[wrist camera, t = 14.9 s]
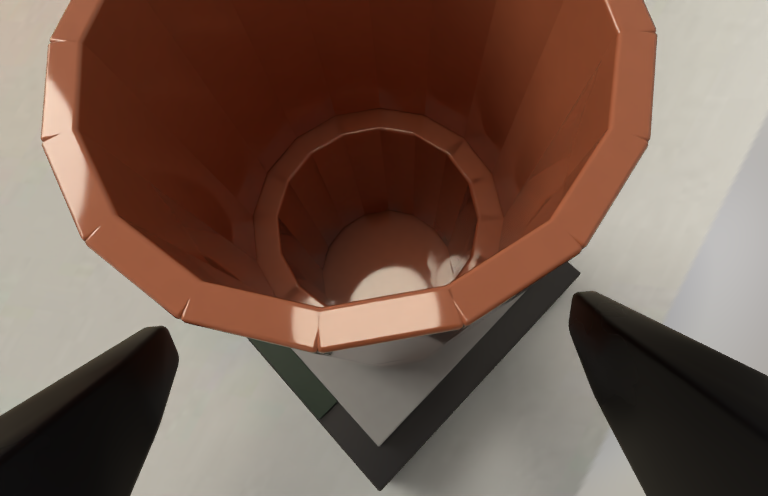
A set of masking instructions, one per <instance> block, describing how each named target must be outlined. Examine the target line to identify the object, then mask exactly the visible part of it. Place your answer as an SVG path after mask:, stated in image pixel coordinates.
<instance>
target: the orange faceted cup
mask: <svg viewBox="0 0 768 496" xmlns="http://www.w3.org/2000/svg"><path fill="white" fill-rule="evenodd" d="M655 32H656V28H655V25H654V23H653V21H652V19H651V16H650V14H649V12H648V10H647V7H646V5H645V3H644V0H71V1H70V2H69V4H68V6H67V8H66V10H65V12H64V14H63V16H62V17H61V19H60V21H59V23H58V25H57V27H56V29H55V30H54V32H53V34H52V36H51V38H50V42H51V43H50V44H49V45H48V52H47V65H46V78H45V91H44V104H43V116H42V129H41V140H42V142H43V143H42V147H43V149H44V151H45V154H46V156H47V158H48V161H49V163H50V166H51V168H52V170H53V173H54V175H55V177H56V180H57V182H58V184H59V187H60V189H61V191H62V194H63V196H64V199H65V201H66V203H67V206H68V208H69V210H70V213H71V215H72V217H73V220H74V222H75V225H76V227H77V229H78V232H79V234H80V236H81V238H82V240H84V241H85V243H86V245H87V246H88V247H89V248H90V249H91V250H93V251H94V252H95V253H96V254H98V255H99V256H100V257H101V258H103V259H104V260H105V261H106V262H107V263H109V264H110V265H111V266H112V267H114V268H115V269H116V270H117V271H119V272H120V273H121V274H122V275H123V276H125V277H126V278H127V279H128V280H130V281H131V282H132V283H133V284H135V285H136V286H137V287H138V288H139V289H141V290H142V291H143V292H144V293H146V294H147V295H148V296H149V297H151V298H152V299H153V300H154V301H155V302H157V303H158V304H159V305H160V306H162V307H163V308H164V309H165V310H167V311H168V312H169V313H170V314H171V315H173V316H174V317H175V318H177V319H181V320H182V321H184V322H185V323H188V324H193V325H197V326H201V327H205V328H209V329H213V330H218V331H222V332H226V333H230V334H234V335H238V336H243V337H247V338H251V339H255V340H259V341H264V342H268V343H272V344H276V345H280V346H284V347H289V348H293V349H297V350H301V351H305V352H309V353H314V354H319V355H323V356H328V357H333V358H338V359H343V360H348V361H353V362H357V363H362V364H367V365H372V366H377V367H382V368H384V367H385V368H388V367H394V366H399V365H405V364H411V363H416V362H421V361H422V360H426V359H427V358H429V357H430V356H432V355H433V354H435V353H436V352H438V351H439V350H441V349H442V348H444V347H445V346H447V345H448V344H450V343H451V342H453V341H454V340H456V339H457V338H459V337H460V336H462V335H463V334H464V333H466V332H467V331H469V330H470V329H472V328H473V327H474V326H476V325H477V324H479V323H480V322H482V321H483V320H485V319H486V318H487V317H489V316H490V315H492V314H493V313H495V312H496V311H497V310H499V309H500V308H502V307H503V306H505V305H506V304H508V303H509V302H510V301H512V300H513V299H515V298H516V297H518V296H519V295H520V294H522V293H523V292H525V291H526V290H528V289H529V288H531V287H532V286H533V285H535V284H536V283H538V282H539V281H541V280H542V279H543V278H545V277H546V276H548V275H549V274H551V273H552V272H554V271H555V270H556V269H558V268H559V267H561V266H562V265H564V264H565V263H566V262H568V261H569V260H571V259H572V258H574V257H575V256H577V255H578V254H579V253H580V252H581V250H582V249H583V248H585V247H586V246H587V245H588V243H589V242H590V240H591V238H592V237H593V235H594V233H595V232H596V230H597V229H598V227H599V225H600V224H601V222H602V220H603V219H604V217H605V216H606V214H607V212H608V211H609V209H610V207H611V206H612V204H613V202H614V201H615V199H616V198H617V196H618V194H619V193H620V191H621V189H622V188H623V186H624V185H625V183H626V181H627V180H628V178H629V176H630V175H631V173H632V171H633V170H634V168H635V167H636V165H637V163H638V162H639V160H640V158H641V157H642V155H643V153H644V152H645V150H646V149H647V146H648V141H649V140H650V136H651V121H652V106H653V91H654V76H655V61H656V46H657V34H656V33H655Z"/></svg>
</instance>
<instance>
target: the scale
mask: <svg viewBox="0 0 768 496" xmlns="http://www.w3.org/2000/svg"><path fill="white" fill-rule="evenodd" d="M579 275H580V272H579V271H578V270H576V269H575V268H574V267H573V266H572V265H571V264H569V263H568V262H566V263H565V264H564V265H562V266H561V267H559V268H558V269H556V270H555V271H554V272H552V273H551V274H549V275H548V276H546V277H545V278H543V279H542V280H541V281H539V282H538V283H536V284H535V285H533V286H532V287H531V288H529V289H528V290H526V291H525V292H523V293H522V294H520V295H519V296H518V297H516V298H515V299H513V300H512V301H510V302H509V303H508V304H506V305H505V306H503V307H502V308H500V309H499V310H497V311H496V312H495V313H493V314H492V315H490V316H489V317H487V318H486V319H485V320H483V321H482V322H480V323H479V324H477V325H476V326H474V327H473V328H472V329H470V330H469V331H467V332H466V333H464V334H463V335H462V336H460V337H459V338H457V339H456V340H454V341H453V342H451V343H450V344H448V345H447V346H445V347H444V348H442V349H441V350H439V351H438V352H436V353H435V354H433V355H432V356H430V357H429V358H427V359H426V360H422V361H421V362H416V363H411V364H405V365H399V366H394V367H388V368H385V367H384V368H382V367H377V366H372V365H367V364H362V363H357V362H353V361H348V360H343V359H338V358H333V357H328V356H323V355H319V354H314V353H309V352H305V351H301V350H297V349H293V348H289V347H284V346H280V345H276V344H272V343H268V342H264V341H259V340H255V339H251V338H248V339H249V341H250V342H251V343H252V344H253V345H254V346H255V348H256V349H257V350H258V351H259V352H260V353H261V355H262V356H263V357H264V358H265V359H266V360H267V362H268V363H269V364H270V365H271V366H272V367H273V369H274V370H275V371H276V372H277V373H278V374H279V376H280V377H281V378H282V379H283V380H284V381H285V383H286V384H287V385H288V386H289V387H290V388H291V389H292V391H293V392H294V393H295V394H296V395H297V396H298V398H299V399H300V400H301V401H302V402H303V403H304V405H305V406H306V407H307V408H308V409H309V410H310V412H311V413H312V414H313V415H314V416H315V417H316V419H317V420H318V421H319V422H320V423H321V424H322V426H323V427H324V428H325V429H326V430H327V431H328V433H329V434H330V435H331V436H332V437H333V438H334V440H335V441H336V442H337V443H338V444H339V445H340V447H341V448H342V449H343V450H344V451H345V452H346V453H347V455H348V456H349V457H350V458H351V459H352V460H353V462H354V463H355V464H356V465H357V466H358V467H359V469H360V470H361V471H362V472H363V473H364V474H365V476H366V477H367V478H368V479H369V480H370V481H371V483H372V484H373V485H374V486H375V487H376V488H377V490H379V491H381V490H382V489H383V488H384V487H385V486H386V485H387V484H388V483H389V482H390V480H391V479H392V478H393V477H394V476H395V475H396V474H397V473H398V472H399V471H400V470H401V469H402V467H403V466H404V465H405V464H406V463H407V462H408V461H409V460H410V459H411V458H412V457H413V455H414V454H415V453H416V452H417V451H418V450H419V449H420V448H421V447H422V446H423V445H424V444H425V442H426V441H427V440H428V439H429V438H430V437H431V436H432V435H433V434H434V433H435V432H436V430H437V429H438V428H439V427H440V426H441V425H442V424H443V423H444V422H445V421H446V420H447V419H448V417H449V416H450V415H451V414H452V413H453V412H454V411H455V410H456V409H457V408H458V407H459V405H460V404H461V403H462V402H463V401H464V400H465V399H466V398H467V397H468V396H469V395H470V394H471V392H472V391H473V390H474V389H475V388H476V387H477V386H478V385H479V384H480V383H481V382H482V381H483V379H484V378H485V377H486V376H487V375H488V374H489V373H490V372H491V371H492V370H493V369H494V367H495V366H496V365H497V364H498V363H499V362H500V361H501V360H502V359H503V358H504V357H505V356H506V354H507V353H508V352H509V351H510V350H511V349H512V348H513V347H514V346H515V345H516V344H517V342H518V341H519V340H520V339H521V338H522V337H523V336H524V335H525V334H526V333H527V332H528V331H529V329H530V328H531V327H532V326H533V325H534V324H535V323H536V322H537V321H538V320H539V319H540V317H541V316H542V315H543V314H544V313H545V312H546V311H547V310H548V309H549V308H550V307H551V306H552V304H553V303H554V302H555V301H556V300H557V299H558V298H559V297H560V296H561V295H562V294H563V293H564V291H565V290H566V289H567V288H568V287H569V286H570V285H571V284H572V283H573V282H574V281H575V279H576V278H577V277H578V276H579Z"/></svg>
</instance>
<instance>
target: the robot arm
mask: <svg viewBox="0 0 768 496" xmlns="http://www.w3.org/2000/svg"><path fill="white" fill-rule="evenodd" d="M569 331H570V335H571V337H572V340H573V342H574V345H575V348H576V350H577V353H578V355H579V358H580V361H581V363H582V366H583V368H584V371H585V374H586V376H587V379H588V381H589V384H590V386H591V389H592V391H593V394H594V396H595V398H596V400H597V402H598V404H599V406H600V408H601V410H602V412H603V414H604V416H605V417H606V419H607V421H608V423H609V425H610V427H611V429H612V431H613V433H614V435H615V437H616V438H617V440H618V442H619V444H620V446H621V448H622V450H623V452H624V454H625V456H626V458H627V459H628V461H629V463H630V465H631V467H632V469H633V471H634V473H635V475H636V477H637V479H638V480H639V482H640V484H641V486H642V488H643V490H644V492H645V494H646V496H768V376H767V375H765V374H763V373H761V372H759V371H757V370H755V369H752V368H751V367H748V366H746V365H744V364H742V363H740V362H738V361H736V360H734V359H732V358H730V357H728V356H726V355H724V354H722V353H720V352H718V351H716V350H714V349H712V348H710V347H708V346H706V345H704V344H702V343H699V342H697V341H695V340H693V339H691V338H689V337H687V336H685V335H683V334H681V333H679V332H677V331H675V330H673V329H671V328H669V327H667V326H665V325H663V324H661V323H659V322H657V321H655V320H653V319H651V318H648V317H646V316H644V315H642V314H640V313H638V312H636V311H634V310H632V309H630V308H628V307H626V306H624V305H622V304H620V303H618V302H616V301H614V300H612V299H610V298H608V297H606V296H604V295H602V294H599V293H597V292H595V291H586V292H577V293H575V294H574V295H573V298H572V303H571V310H570V317H569ZM178 363H179V356H178V352H177V350H176V347H175V345H174V342H173V340H172V338H171V335H170V333H169V331H168V329H167V328H166V327H164V326H155V327H146V328H144V329H142V330H140V331H139V332H137V333H135V334H134V335H132V336H130V337H129V338H127V339H125V340H124V341H122V342H121V343H119V344H117V345H116V346H114V347H112V348H111V349H109V350H107V351H106V352H104V353H103V354H101V355H99V356H98V357H96V358H94V359H93V360H91V361H89V362H88V363H86V364H85V365H83V366H81V367H80V368H78V369H76V370H75V371H73V372H71V373H70V374H68V375H66V376H65V377H63V378H62V379H60V380H58V381H57V382H55V383H53V384H52V385H50V386H48V387H47V388H45V389H44V390H42V391H40V392H39V393H37V394H35V395H34V396H32V397H30V398H29V399H27V400H26V401H24V402H22V403H21V404H19V405H17V406H16V407H14V408H12V409H11V410H9V411H8V412H6V413H4V414H3V415H1V416H0V496H130V495H131V492H132V490H133V488H134V485H135V483H136V481H137V478H138V476H139V474H140V471H141V469H142V467H143V464H144V462H145V459H146V457H147V455H148V452H149V450H150V448H151V445H152V443H153V441H154V438H155V436H156V433H157V431H158V428H159V425H160V422H161V419H162V417H163V413H164V410H165V407H166V403H167V400H168V397H169V394H170V390H171V387H172V384H173V380H174V377H175V374H176V371H177V367H178Z"/></svg>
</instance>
